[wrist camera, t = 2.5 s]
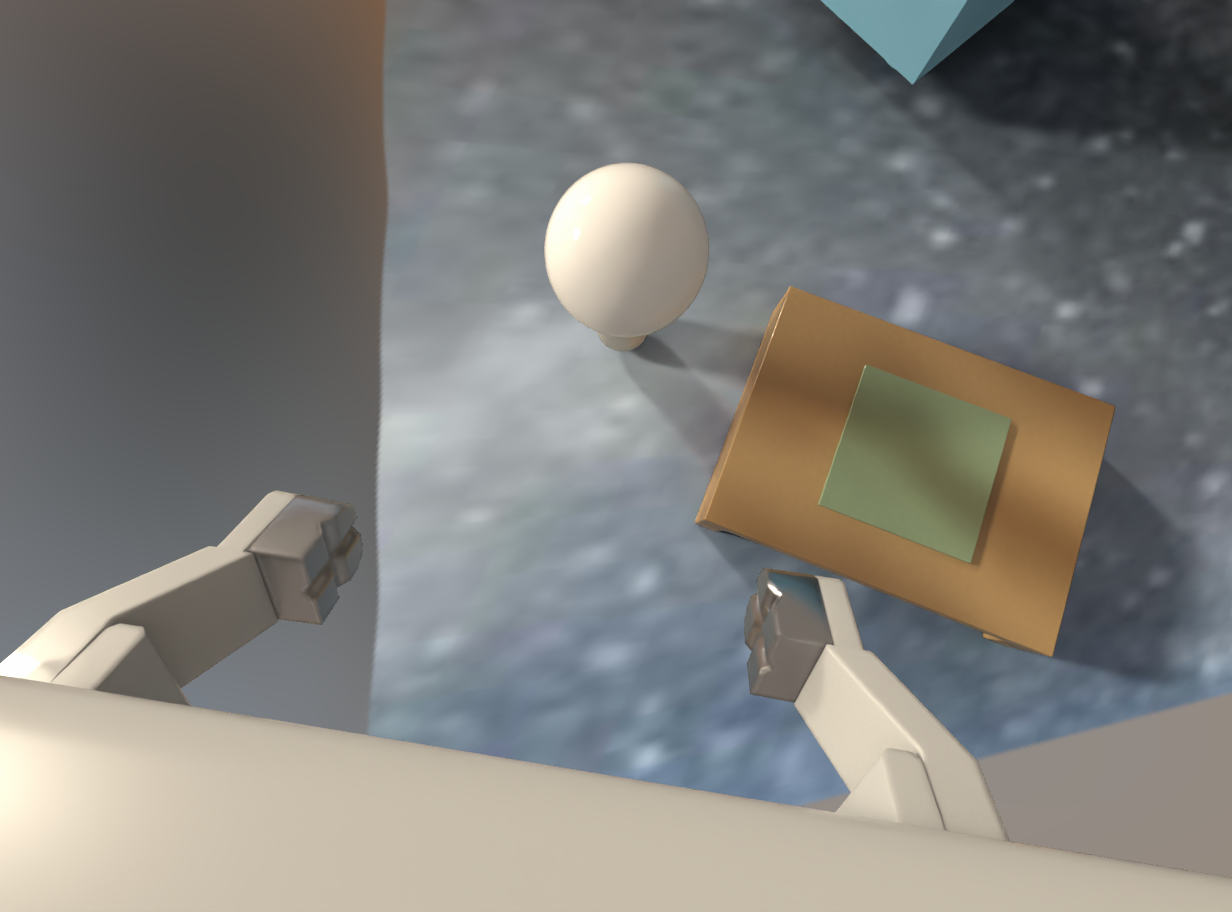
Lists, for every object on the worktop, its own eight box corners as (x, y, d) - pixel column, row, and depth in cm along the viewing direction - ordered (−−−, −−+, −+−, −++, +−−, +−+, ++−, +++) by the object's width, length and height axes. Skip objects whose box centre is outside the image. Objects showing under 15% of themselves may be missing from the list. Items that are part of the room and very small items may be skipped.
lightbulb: (705, 314, 30) (758, 180, 19) (640, 412, 29) (658, 329, 18) (604, 253, 31) (602, 89, 20) (537, 347, 30) (496, 229, 19)
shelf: (1005, 646, 27) (1056, 658, 24) (694, 523, 28) (704, 519, 25) (1065, 420, 29) (1120, 404, 26) (772, 311, 30) (791, 283, 27)
